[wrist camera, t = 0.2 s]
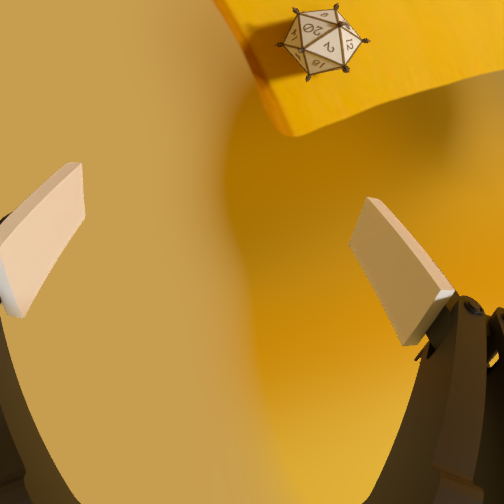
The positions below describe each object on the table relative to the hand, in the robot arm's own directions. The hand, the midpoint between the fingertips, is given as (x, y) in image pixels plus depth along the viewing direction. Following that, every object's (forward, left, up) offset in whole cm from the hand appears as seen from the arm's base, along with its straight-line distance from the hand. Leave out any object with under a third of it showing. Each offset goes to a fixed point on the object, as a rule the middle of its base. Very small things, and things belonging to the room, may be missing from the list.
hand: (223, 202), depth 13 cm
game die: (-9, +1, -27) cm, 28 cm away
